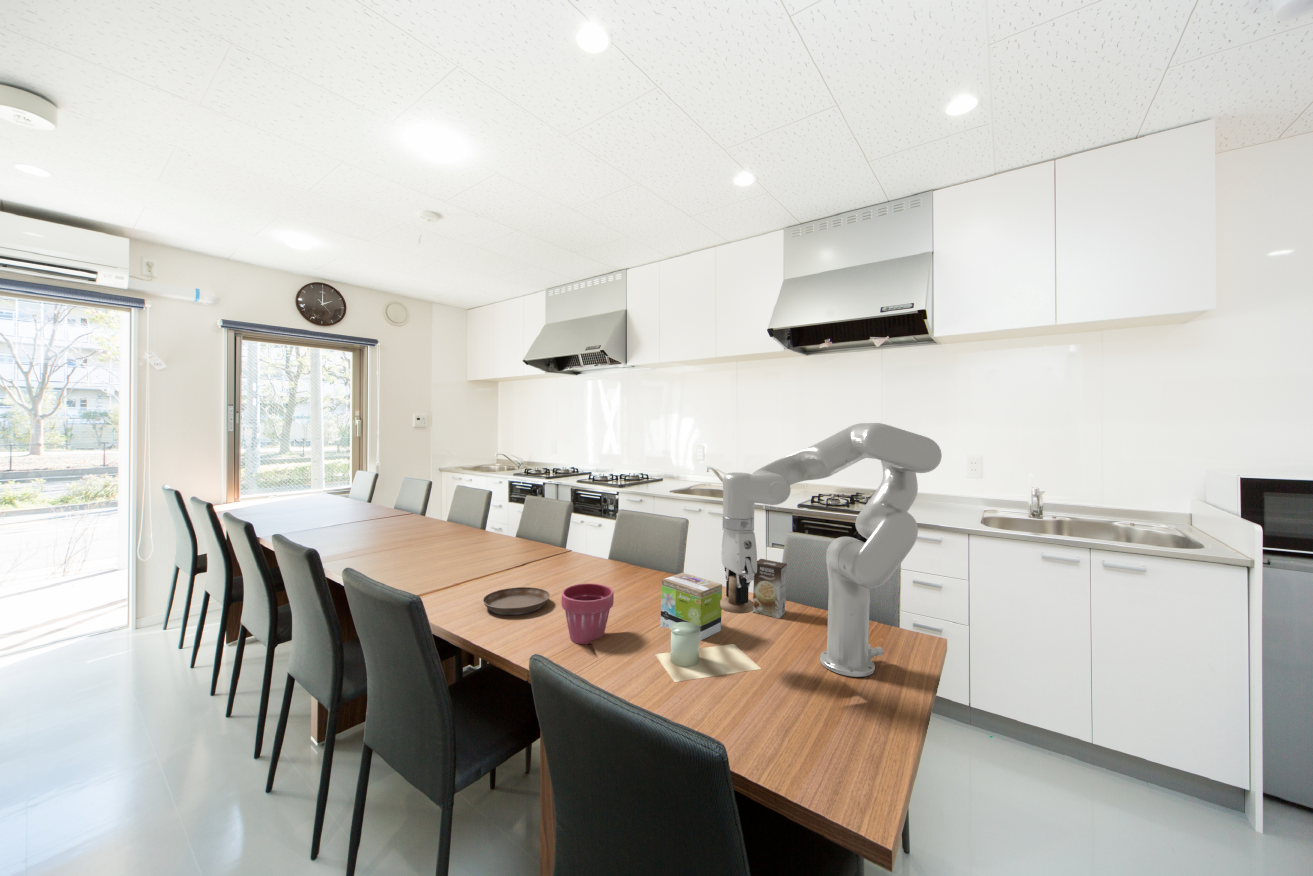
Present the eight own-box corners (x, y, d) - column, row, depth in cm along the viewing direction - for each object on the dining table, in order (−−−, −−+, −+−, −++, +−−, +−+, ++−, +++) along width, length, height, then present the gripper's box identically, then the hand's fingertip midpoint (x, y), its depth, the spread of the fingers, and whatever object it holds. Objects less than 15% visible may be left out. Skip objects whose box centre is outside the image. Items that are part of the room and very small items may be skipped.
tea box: (659, 629, 139) (660, 578, 139) (681, 619, 147) (682, 571, 147) (700, 645, 129) (701, 590, 129) (722, 634, 137) (723, 582, 136)
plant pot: (603, 652, 124) (604, 602, 124) (552, 645, 127) (553, 597, 127) (618, 629, 138) (619, 585, 138) (572, 624, 141) (573, 581, 141)
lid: (743, 600, 122) (743, 571, 122) (759, 611, 114) (760, 581, 114) (714, 603, 119) (715, 574, 119) (729, 615, 112) (729, 584, 111)
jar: (692, 652, 123) (693, 620, 122) (704, 665, 116) (705, 632, 116) (665, 655, 120) (666, 623, 120) (676, 669, 113) (676, 635, 113)
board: (733, 648, 128) (733, 643, 128) (761, 673, 115) (761, 668, 115) (654, 659, 121) (654, 654, 121) (674, 687, 108) (674, 682, 108)
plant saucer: (479, 600, 160) (479, 590, 160) (542, 592, 169) (542, 583, 169) (485, 623, 141) (486, 611, 141) (556, 613, 150) (556, 602, 150)
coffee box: (751, 612, 154) (752, 562, 154) (758, 606, 159) (759, 558, 159) (779, 619, 149) (781, 567, 149) (786, 612, 154) (787, 562, 154)
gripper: (770, 530, 110) (769, 610, 110) (735, 517, 126) (734, 587, 126) (741, 532, 107) (739, 614, 108) (709, 518, 123) (708, 590, 123)
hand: (737, 599), depth 117 cm, fingers closed on lid, 4 cm apart
